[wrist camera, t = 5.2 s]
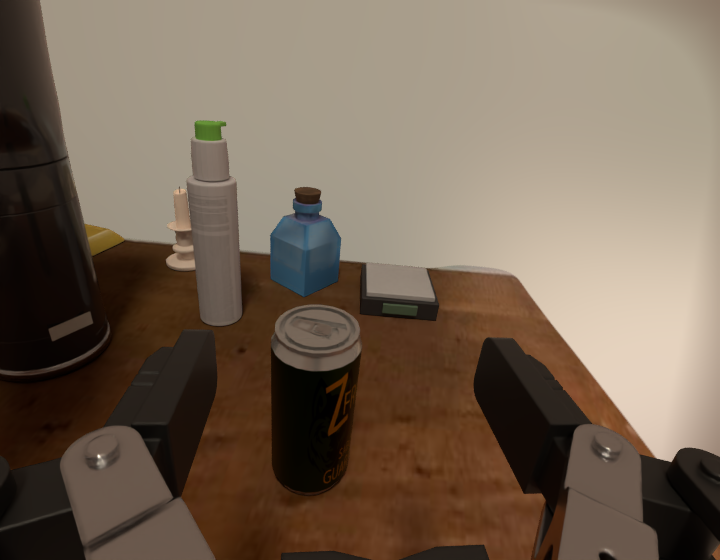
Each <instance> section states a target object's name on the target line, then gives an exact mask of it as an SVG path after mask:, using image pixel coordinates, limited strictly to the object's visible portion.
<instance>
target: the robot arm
mask: <svg viewBox="0 0 720 560" xmlns="http://www.w3.org/2000/svg"><path fill="white" fill-rule="evenodd" d="M110 341H111V330H110V326H109V322H108V321H107V316H106V313H105V310H104V305H103V301H102V296H101V292H100V288H99V284H98V279H97V275H96V271H95V267H94V262H93V258H92V254H91V250H90V246H89V241H88V237H87V233H86V229H85V224H84V220H83V216H82V212H81V208H80V203H79V199H78V195H77V191H76V187H75V182H74V178H73V174H72V170H71V165H70V161H69V157H68V151H67V147H66V143H65V139H64V134H63V128H62V121H61V114H60V108H59V103H58V97H57V92H56V88H55V83H54V79H53V74H52V69H51V64H50V58H49V53H48V48H47V42H46V36H45V29H44V23H43V17H42V11H41V5H40V0H0V379H1V380H5V381H13V382H27V381H36V380H43V379H48V378H52V377H56V376H59V375H62V374H65V373H68V372H71V371H73V370H75V369H78V368H80V367H82V366H84V365H85V364H87V363H89V362H91V361H92V360H94V359H95V358H96V357H98V356H99V355H100V354H101V353H102V352H103V351H104V350H105V349H106V348H107V346H108V345H109V343H110ZM216 388H217V364H216V351H215V338H214V333H213V331H212V330H186V329H185V330H183V332H182V333H181V335H180V337H179V339H178V340H177V342H176V344H175V346H174V347H162V348H160V349H159V350H158V351H156V352H155V353H154V354H152V355H151V356H149V357H148V358H147V359H146V361H145V362H144V364H143V365H142V367H141V369H140V370H139V372H138V374H137V375H136V376H135V378H134V380H133V381H132V383H131V386H129V387H128V389H127V391H126V392H125V394H124V395H123V397H122V398H121V400H120V402H119V403H118V405H117V406H116V408H115V409H114V411H113V413H112V414H111V416H110V417H109V419H108V420H107V422H106V424H105V425H104V427H103V428H100V429H97V430H94V431H92V432H90V433H88V434H86V435H84V436H83V437H81V438H79V439H78V440H77V441H75V442H74V443H73V444H72V445H71V446H70V447H69V448H68V449H67V450H66V452H65V453H64V455H63V457H61V458H58V459H54V460H51V461H47V462H43V463H39V464H35V465H30V466H26V467H22V468H18V469H14V470H11V469H10V466H9V464H8V462H7V460H6V459H5V458H3V457H2V456H0V560H216V559H215V557H214V556H213V554H212V552H211V550H210V548H209V546H208V545H207V543H206V541H205V539H204V537H203V535H202V534H201V532H200V530H199V528H198V526H197V524H196V523H195V521H194V519H193V517H192V515H191V513H190V512H189V510H188V508H187V506H186V504H185V503H184V501H183V500H182V498H181V495H182V492H183V489H184V486H185V483H186V480H187V477H188V474H189V471H190V469H191V466H192V463H193V460H194V457H195V454H196V451H197V448H198V445H199V442H200V439H201V436H202V433H203V430H204V427H205V424H206V421H207V418H208V415H209V412H210V409H211V406H212V403H213V400H214V397H215V394H216ZM474 393H475V397H476V399H477V402H478V404H479V406H480V407H481V409H482V411H483V413H484V415H485V417H486V419H487V421H488V423H489V425H490V427H491V429H492V431H493V433H494V435H495V437H496V439H497V441H498V443H499V445H500V447H501V449H502V451H503V453H504V455H505V457H506V459H507V461H508V463H509V465H510V467H511V469H512V471H513V473H514V475H515V477H516V479H517V481H518V483H519V485H520V487H521V489H522V491H523V493H524V494H534V493H542V494H543V496H544V498H545V500H546V501H545V503H544V505H543V508H542V511H541V516H540V520H539V525H538V529H537V534H536V538H535V542H534V547H533V551H532V556H531V560H716V559H715V558H714V557H713V556H712V554H713V552H714V551H715V550H716V548H717V547H718V546H719V544H720V457H718V456H716V455H714V454H712V453H709V452H707V451H704V450H701V449H696V448H683V449H680V450H679V451H678V452H677V454H676V456H675V457H674V459H673V461H672V462H669V461H664V460H660V459H656V458H652V457H648V456H644V455H640V454H639V453H638V451H637V450H636V449H635V447H634V446H633V445H632V444H631V443H630V442H629V441H628V440H627V439H625V438H624V437H623V436H621V435H620V434H618V433H616V432H614V431H612V430H610V429H608V428H605V427H603V426H599V425H594V424H592V423H591V422H590V421H589V419H588V418H587V417H586V416H585V414H584V413H583V412H582V411H581V409H580V408H579V407H578V406H577V405H576V403H575V402H574V401H573V400H572V398H571V397H570V396H569V395H568V394H567V392H566V391H565V390H563V387H562V386H561V385H560V384H559V382H558V381H557V380H555V379H554V376H553V375H552V374H551V373H550V371H549V370H548V369H547V368H546V366H545V365H543V364H542V363H541V362H539V361H538V360H536V359H535V358H534V357H532V356H531V355H526V354H525V353H524V351H523V350H522V349H521V348H520V346H519V345H518V344H517V342H516V341H515V340H514V339H513V338H486V339H485V341H484V343H483V346H482V350H481V354H480V357H479V361H478V365H477V369H476V373H475V377H474ZM281 560H370V559H366V558H362V557H358V556H353V555H349V554H345V553H341V552H336V551H318V552H294V553H282V554H281ZM400 560H489V557H488V555H487V552H486V549H485V546H484V545H466V546H441V547H434V548H431V549H428V550H426V551H423V552H420V553H417V554H414V555H411V556H408V557H406V558H403V559H400Z"/></svg>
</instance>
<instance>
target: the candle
mask: <svg viewBox="0 0 720 560" xmlns="http://www.w3.org/2000/svg"><path fill="white" fill-rule="evenodd" d="M173 193H174V207H175V217H176V221H173V222H171V223H169V224H168V225H167V227H168V228H169V229H170V230H174V231H175V233H176V241H177V243H176V244H174V245H173V250H174V251H175V252H177V253H175V254H173V255H171V256H169V257H168V258H167V260H166V264H167V266H168V267H169V268H171V269H173V270H177V271H192V270H196V268H195V259H194V249H193V239H192V230H191V220H190V216H189V208H188V201H187V195H186V190H185V189H180V187H179V189H178V190H175V191H174V192H173Z"/></svg>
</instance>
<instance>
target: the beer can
mask: <svg viewBox="0 0 720 560" xmlns="http://www.w3.org/2000/svg"><path fill="white" fill-rule="evenodd" d="M359 334H360V328H359V325H358V322H357V321H356V320H355V319H354V317H353V316H352V315H350V314H348V313H347V312H345V311H344V310H341V309H338V308H335V307H332V306H326V305H305V306H300V307H296V308H293V309H291V310H288V311H287V312H285V313H284V314H283V315H281V316H280V317H279V319H278V320H277V322H276V323H275V333H274V334H273V336H272V338H271V404H272V467H273V470H274V473H275V475H276V477H277V478H278V479H279V480H280V481H281V482H282V484H283V485H284V486H285V487H286V488H287V489H289V490H291V491H292V492H294V493H297V494H302V495H317V494H320V493H322V492H325V491H327V490H329V489H330V488H331V487H332V486H333V485H335V484H336V483H337V482H338V481H339V480H340V478H341V477H342V475H343V474H344V472H345V471H346V467H347V462H348V456H349V448H350V440H351V432H352V423H353V415H354V407H355V399H356V391H357V383H358V375H359V367H360V359H361V350H362V342H361V338H360V335H359Z"/></svg>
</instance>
